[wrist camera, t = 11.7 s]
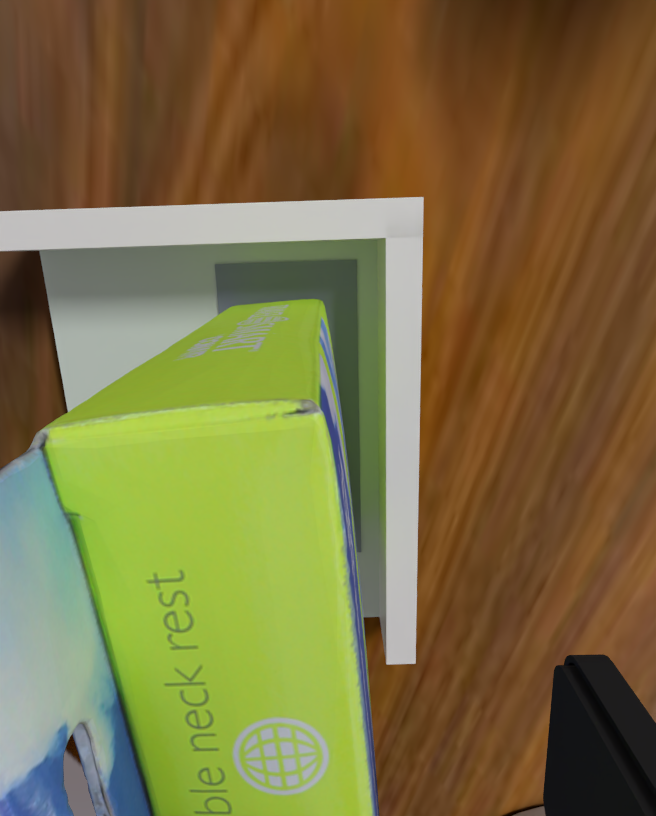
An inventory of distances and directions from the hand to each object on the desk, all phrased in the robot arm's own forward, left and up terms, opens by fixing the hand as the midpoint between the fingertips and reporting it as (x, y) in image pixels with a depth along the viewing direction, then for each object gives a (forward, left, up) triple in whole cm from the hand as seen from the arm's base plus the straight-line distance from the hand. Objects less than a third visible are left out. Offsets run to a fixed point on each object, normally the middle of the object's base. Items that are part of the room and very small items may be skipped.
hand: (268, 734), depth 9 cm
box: (+1, 0, -15) cm, 15 cm away
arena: (0, +3, -15) cm, 15 cm away
